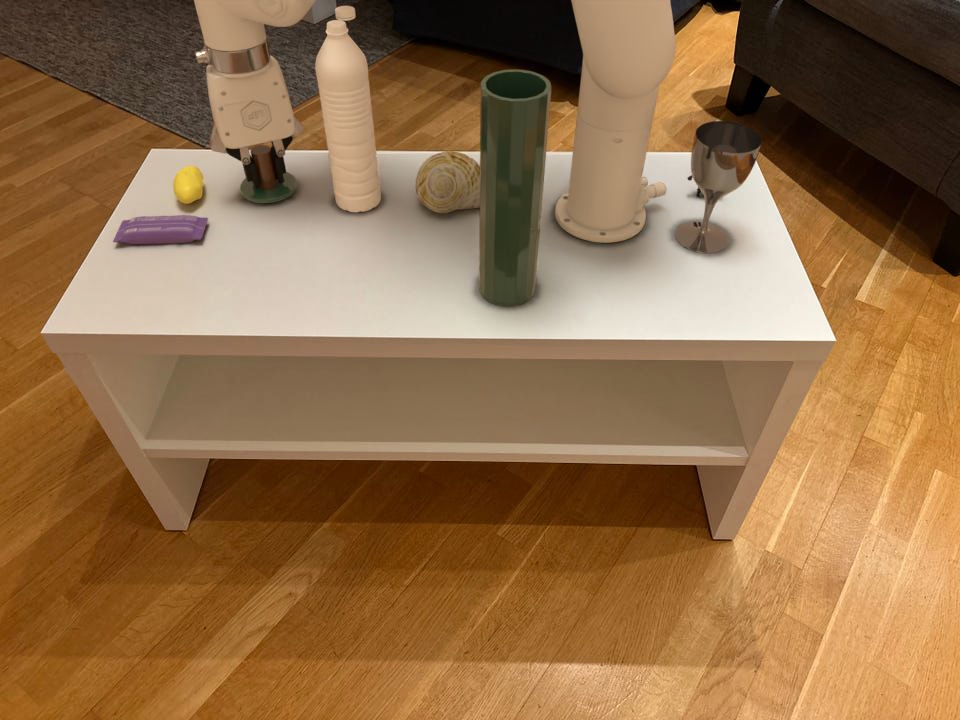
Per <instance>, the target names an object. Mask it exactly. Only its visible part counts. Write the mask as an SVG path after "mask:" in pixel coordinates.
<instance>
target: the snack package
mask: <svg viewBox="0 0 960 720" xmlns="http://www.w3.org/2000/svg"><path fill="white" fill-rule="evenodd" d="M208 220H209V217H201V216H198V215H190V214H189V215H188V214H180V215H152V216H147V215H146V216H145V215H143V216H135V217H132V218H130V219H123V220H122V221H121V222H120V225H119V227H118V230H117V232H116V234H115V236H114V237H113V238H114V239H113V241H112V243H125V244H130V245H154V244H155V245H156V244H157V245H158V244H185V243H192V242H194V241H196V240H202V239H203V236H204V233H205V230H206V227H207V223H208Z"/></svg>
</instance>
